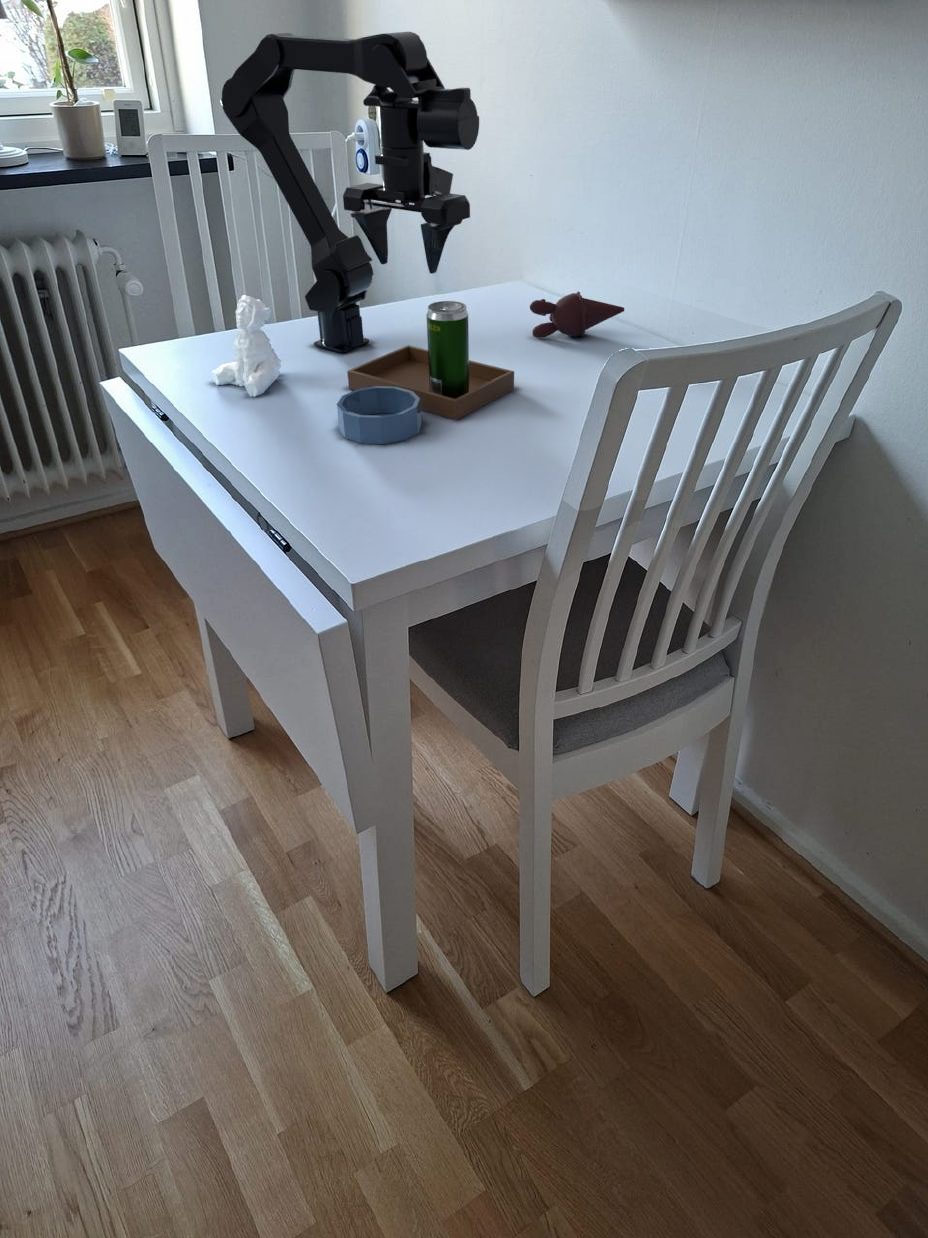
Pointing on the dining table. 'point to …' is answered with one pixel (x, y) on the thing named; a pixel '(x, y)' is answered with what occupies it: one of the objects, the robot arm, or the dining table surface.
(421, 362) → the tray
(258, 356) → the white creature statuette
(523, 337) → the dining table surface
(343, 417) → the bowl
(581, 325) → the icecream
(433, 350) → the beer can
